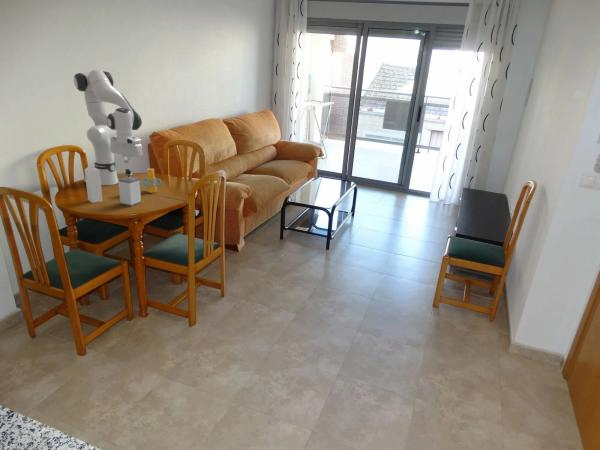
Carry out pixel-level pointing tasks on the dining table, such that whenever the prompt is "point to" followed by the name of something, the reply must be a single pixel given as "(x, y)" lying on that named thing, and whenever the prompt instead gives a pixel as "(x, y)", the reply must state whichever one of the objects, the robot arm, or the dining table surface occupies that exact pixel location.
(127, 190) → the white box with knob
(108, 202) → the dining table surface
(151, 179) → the yellow and blue toy
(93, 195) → the milk
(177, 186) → the dining table surface
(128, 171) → the plunger
